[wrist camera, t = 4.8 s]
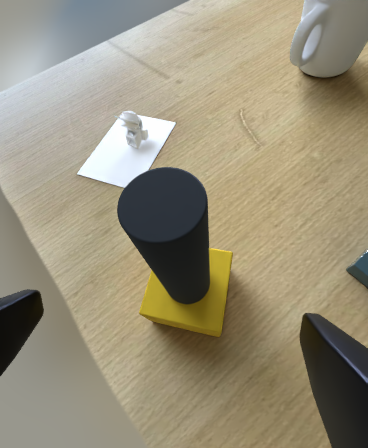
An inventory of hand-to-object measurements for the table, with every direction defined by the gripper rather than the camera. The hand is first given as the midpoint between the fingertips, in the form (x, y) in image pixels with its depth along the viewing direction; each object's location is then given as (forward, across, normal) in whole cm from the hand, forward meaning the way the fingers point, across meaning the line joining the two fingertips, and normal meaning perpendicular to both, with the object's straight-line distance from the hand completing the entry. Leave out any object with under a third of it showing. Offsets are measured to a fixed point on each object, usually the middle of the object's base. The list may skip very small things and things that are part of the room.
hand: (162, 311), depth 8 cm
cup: (+29, -12, -14) cm, 35 cm away
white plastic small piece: (+20, +8, -5) cm, 22 cm away
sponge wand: (+9, 0, +5) cm, 10 cm away
